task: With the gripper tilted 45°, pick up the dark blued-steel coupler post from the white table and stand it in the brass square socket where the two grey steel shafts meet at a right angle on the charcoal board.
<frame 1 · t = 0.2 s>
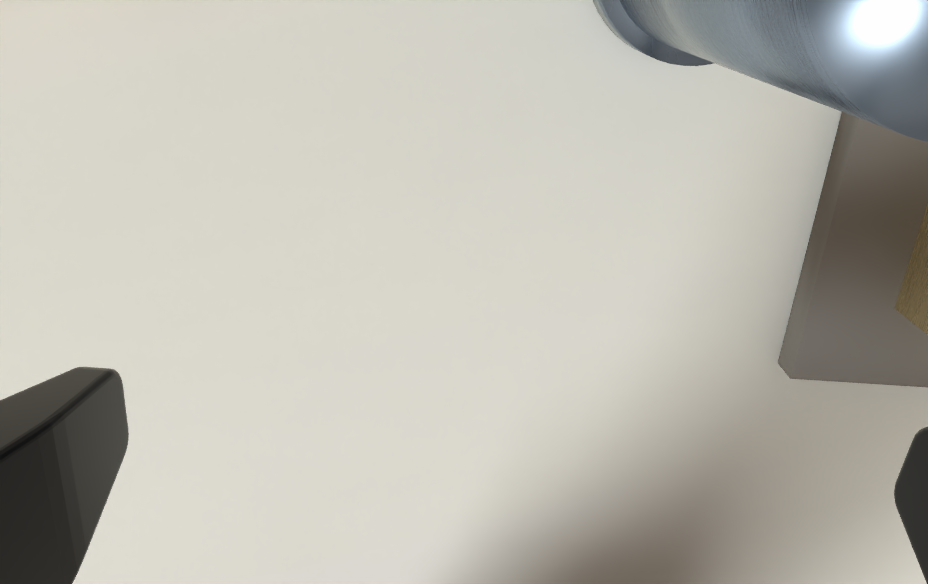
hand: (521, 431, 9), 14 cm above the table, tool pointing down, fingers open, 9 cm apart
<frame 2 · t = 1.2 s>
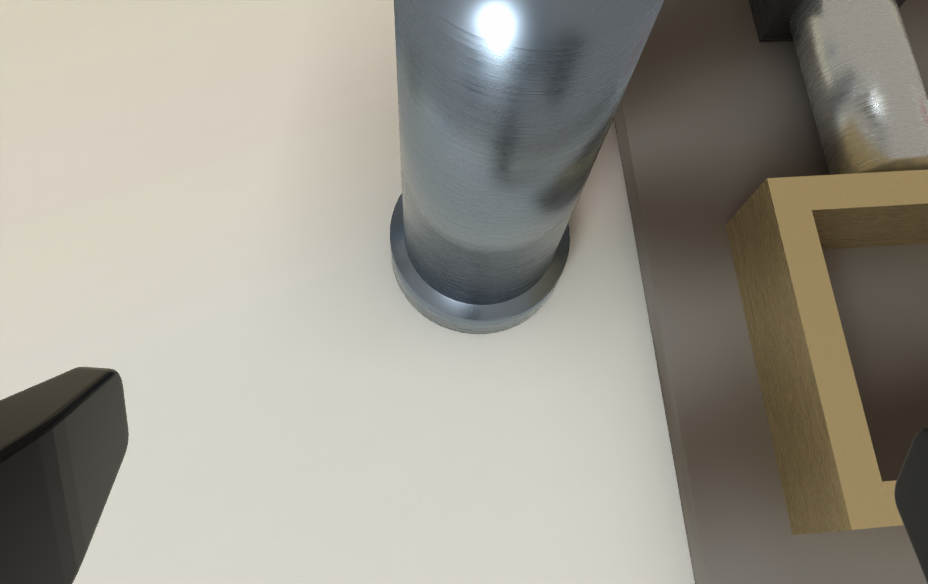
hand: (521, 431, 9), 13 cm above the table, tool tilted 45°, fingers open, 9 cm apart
shaft board: (887, 366, 23), on the table
steel coupler: (476, 252, 24), on the table
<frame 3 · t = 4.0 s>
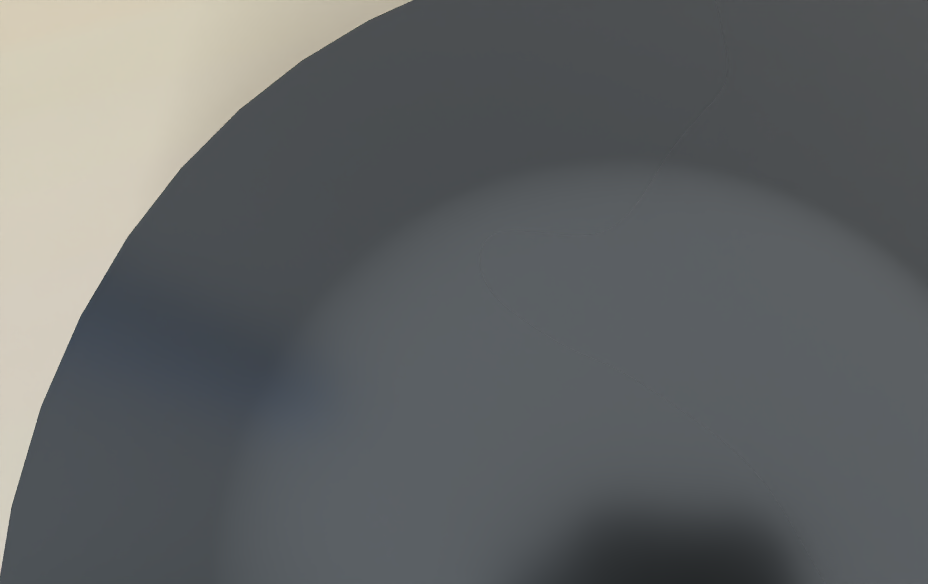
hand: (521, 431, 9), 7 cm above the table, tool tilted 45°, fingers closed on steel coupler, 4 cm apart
steel coupler: (474, 563, 15), on the table, touching gripper
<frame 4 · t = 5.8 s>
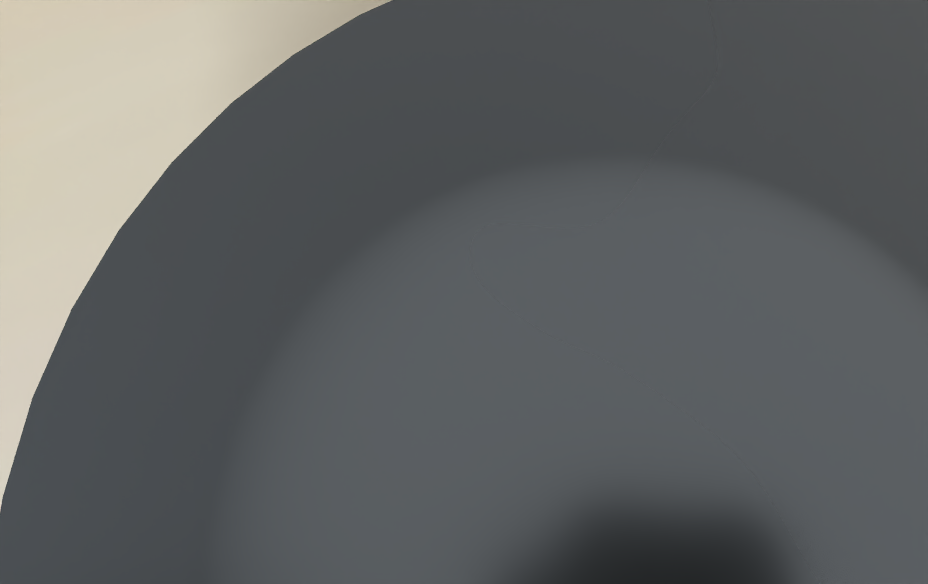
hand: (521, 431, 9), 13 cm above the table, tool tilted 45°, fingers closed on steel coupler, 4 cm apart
steel coupler: (473, 562, 15), point 7 cm above the table, touching gripper
when the fingers open (9 cm above the table, at t = 7.8 s): steel coupler drops 1 cm, resting on shaft board.
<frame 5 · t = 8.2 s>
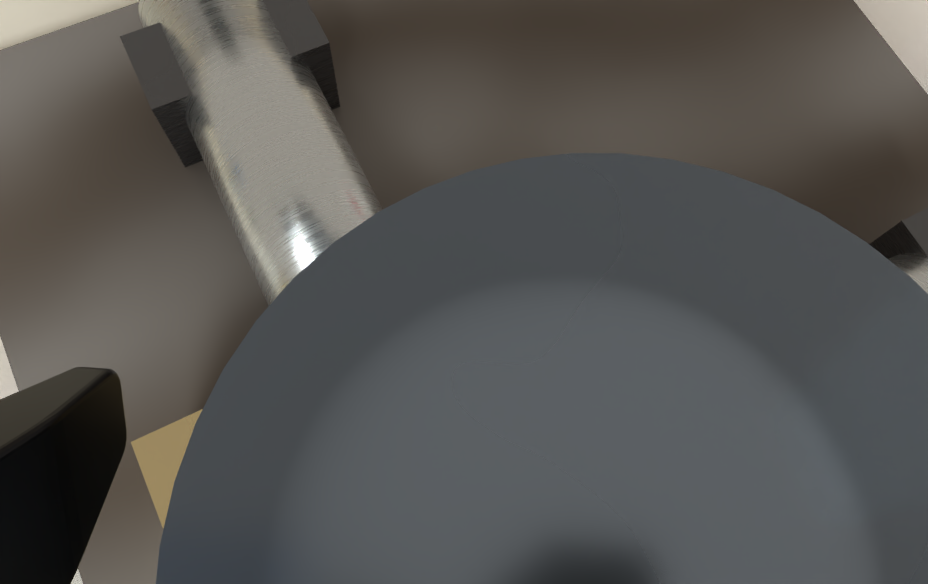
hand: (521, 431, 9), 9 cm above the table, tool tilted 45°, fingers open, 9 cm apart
socket: (570, 249, 17), on the shaft board, point 2 cm above the table
shaft board: (467, 564, 17), on the table
steel coupler: (468, 566, 16), point 1 cm above the table, touching shaft board
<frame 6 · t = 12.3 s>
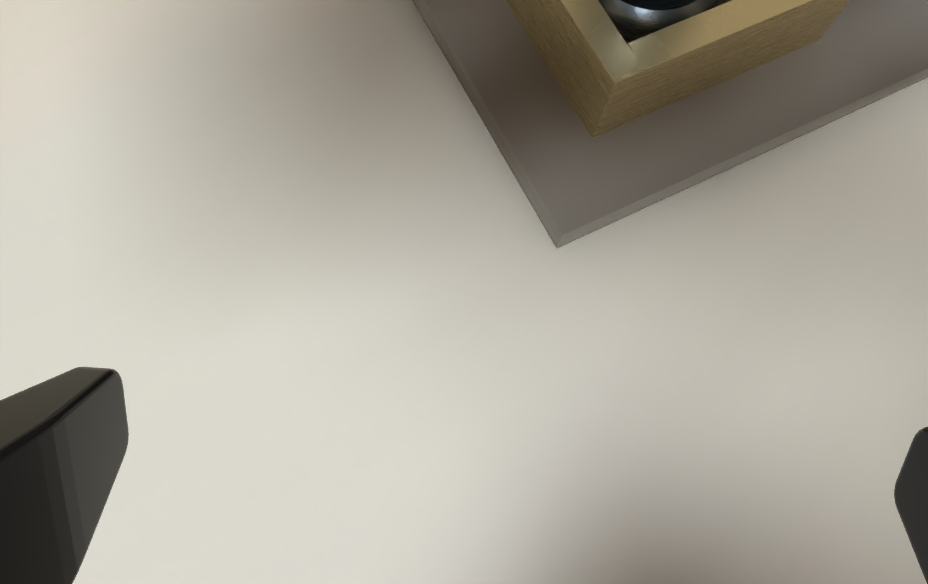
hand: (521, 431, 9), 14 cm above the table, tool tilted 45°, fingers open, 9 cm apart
shaft board: (631, 5, 28), on the table
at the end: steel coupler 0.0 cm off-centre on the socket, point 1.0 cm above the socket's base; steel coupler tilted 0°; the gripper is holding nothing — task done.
